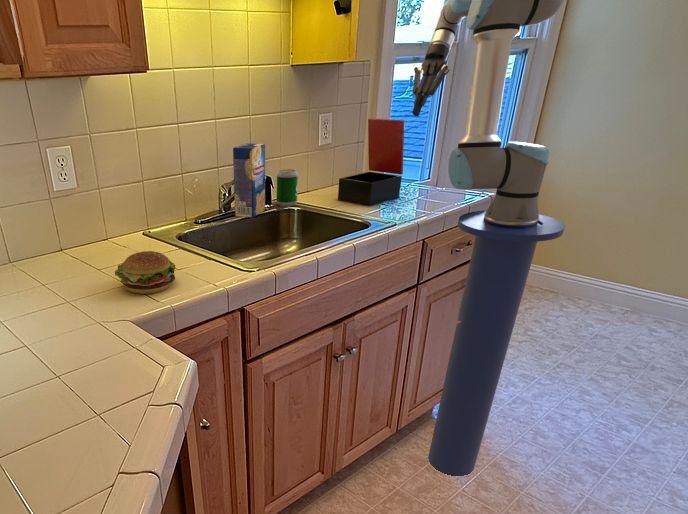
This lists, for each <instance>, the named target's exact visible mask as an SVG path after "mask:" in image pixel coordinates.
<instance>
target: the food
mask: <svg viewBox="0 0 688 514" xmlns="http://www.w3.org/2000/svg"><path fill="white" fill-rule="evenodd" d="M175 270H177V268H176V265H175V262H172V261H171V260H170V259H169V258H168V256H167V255H165V254H163V253H161V252H159V251H154V250H145V251H144V250H143V251H139V252H135V253H132V254H130V255H129V256H127V257H126V258H125V259H124V261H123V262H122V263H120V264H118V265H117V269H116V270H114V276H116V277H118V278H119V279H120V282H121V283H122V285H123V287H124V289H125V290H126V291H128V292H130V293H132V294H141V295H148V294H155V293H160V292H163V291H165V290H167V289H169V288H171V287H172V286H173V283H174V281H175V280H176V276H175Z"/></svg>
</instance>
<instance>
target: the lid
mask: <svg viewBox="0 0 688 514" xmlns="http://www.w3.org/2000/svg"><path fill="white" fill-rule="evenodd" d="M367 130H368V131H367V136H368V137H367V138H368V139H367V141H368V142H367V143H368V147H367V149H368V151H367V152H368V171H369V172H377V173H384V174H392V175H399V176H403V174H404V149H405V148H404V147H405V119H390V118H370V117H369V118H368V119H367Z"/></svg>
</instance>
